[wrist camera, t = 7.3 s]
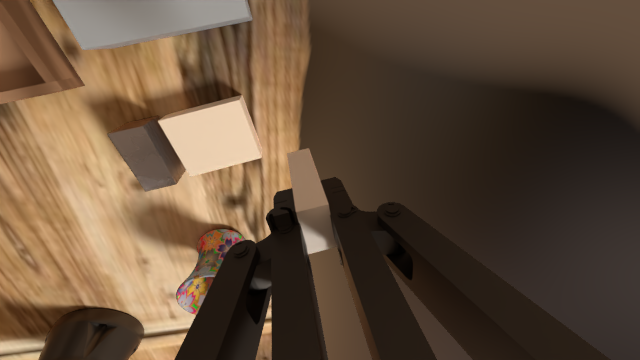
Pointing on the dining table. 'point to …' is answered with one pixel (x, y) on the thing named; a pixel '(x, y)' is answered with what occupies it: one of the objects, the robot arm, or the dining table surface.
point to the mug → (206, 267)
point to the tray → (30, 55)
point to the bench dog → (148, 153)
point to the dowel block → (145, 19)
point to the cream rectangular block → (212, 135)
